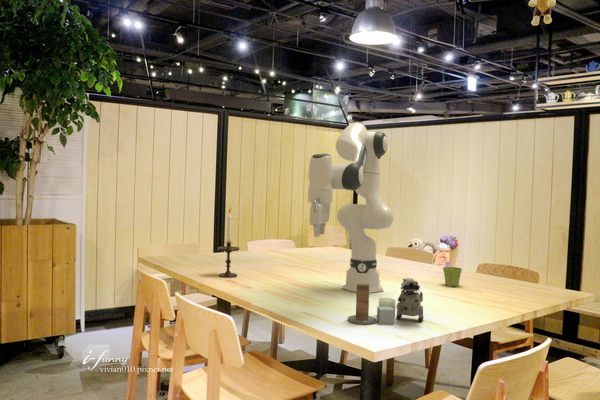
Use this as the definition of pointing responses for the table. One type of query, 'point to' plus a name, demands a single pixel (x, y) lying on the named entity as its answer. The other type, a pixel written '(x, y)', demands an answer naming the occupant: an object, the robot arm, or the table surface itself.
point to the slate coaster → (362, 322)
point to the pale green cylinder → (387, 303)
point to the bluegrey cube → (385, 315)
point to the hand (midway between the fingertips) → (319, 235)
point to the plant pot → (452, 276)
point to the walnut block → (362, 301)
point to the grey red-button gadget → (410, 300)
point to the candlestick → (228, 250)
